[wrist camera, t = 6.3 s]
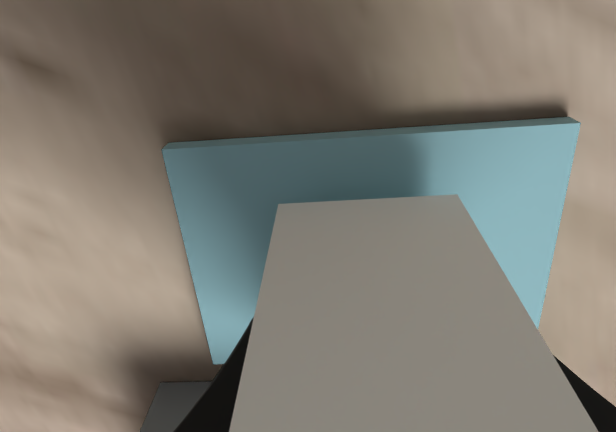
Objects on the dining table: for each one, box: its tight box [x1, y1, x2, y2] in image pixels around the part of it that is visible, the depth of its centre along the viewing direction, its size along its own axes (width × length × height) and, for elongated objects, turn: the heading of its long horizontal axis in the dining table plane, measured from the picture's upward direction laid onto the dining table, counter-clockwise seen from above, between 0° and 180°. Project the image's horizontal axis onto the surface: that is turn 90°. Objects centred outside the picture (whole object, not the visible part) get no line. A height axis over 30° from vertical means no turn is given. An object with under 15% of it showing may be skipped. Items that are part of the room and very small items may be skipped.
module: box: [229, 194, 598, 432], centre depth 9 cm, size 4×6×7 cm
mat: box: [162, 117, 581, 364], centre depth 14 cm, size 11×8×1 cm
